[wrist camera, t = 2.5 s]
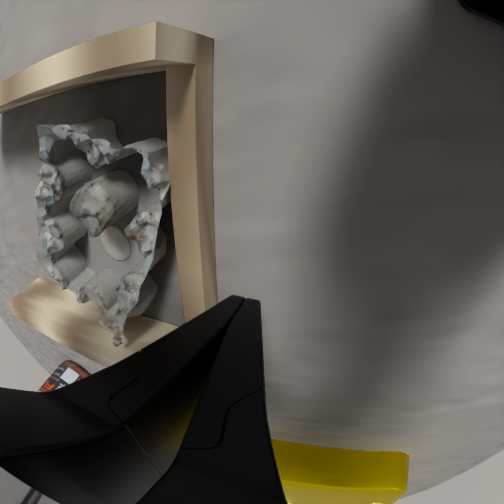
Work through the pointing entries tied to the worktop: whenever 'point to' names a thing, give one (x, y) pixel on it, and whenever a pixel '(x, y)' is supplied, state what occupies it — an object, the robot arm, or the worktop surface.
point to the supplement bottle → (64, 376)
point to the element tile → (340, 474)
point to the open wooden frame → (180, 174)
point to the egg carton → (99, 215)
